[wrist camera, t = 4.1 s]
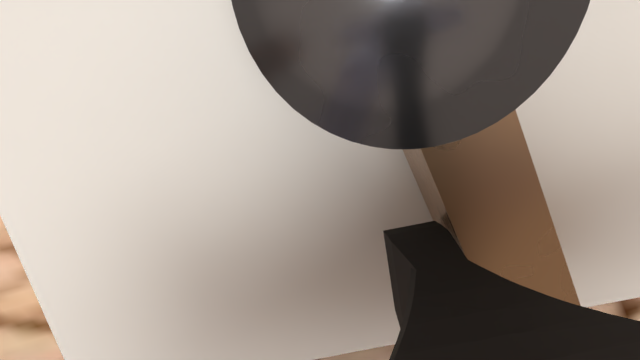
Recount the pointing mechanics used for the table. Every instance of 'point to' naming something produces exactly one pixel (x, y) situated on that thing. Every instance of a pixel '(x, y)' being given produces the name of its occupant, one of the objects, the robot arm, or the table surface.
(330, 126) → the grey rounded handled piece
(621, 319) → the robot arm
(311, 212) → the post base
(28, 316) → the table surface
